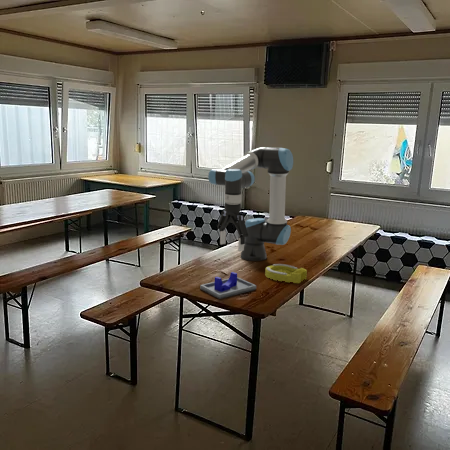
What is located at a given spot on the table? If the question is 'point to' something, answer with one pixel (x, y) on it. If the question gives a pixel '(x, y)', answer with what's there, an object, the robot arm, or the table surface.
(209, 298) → the table surface
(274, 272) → the yellow rounded low piece
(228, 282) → the blue long stepped piece
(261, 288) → the table surface
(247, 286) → the tray
